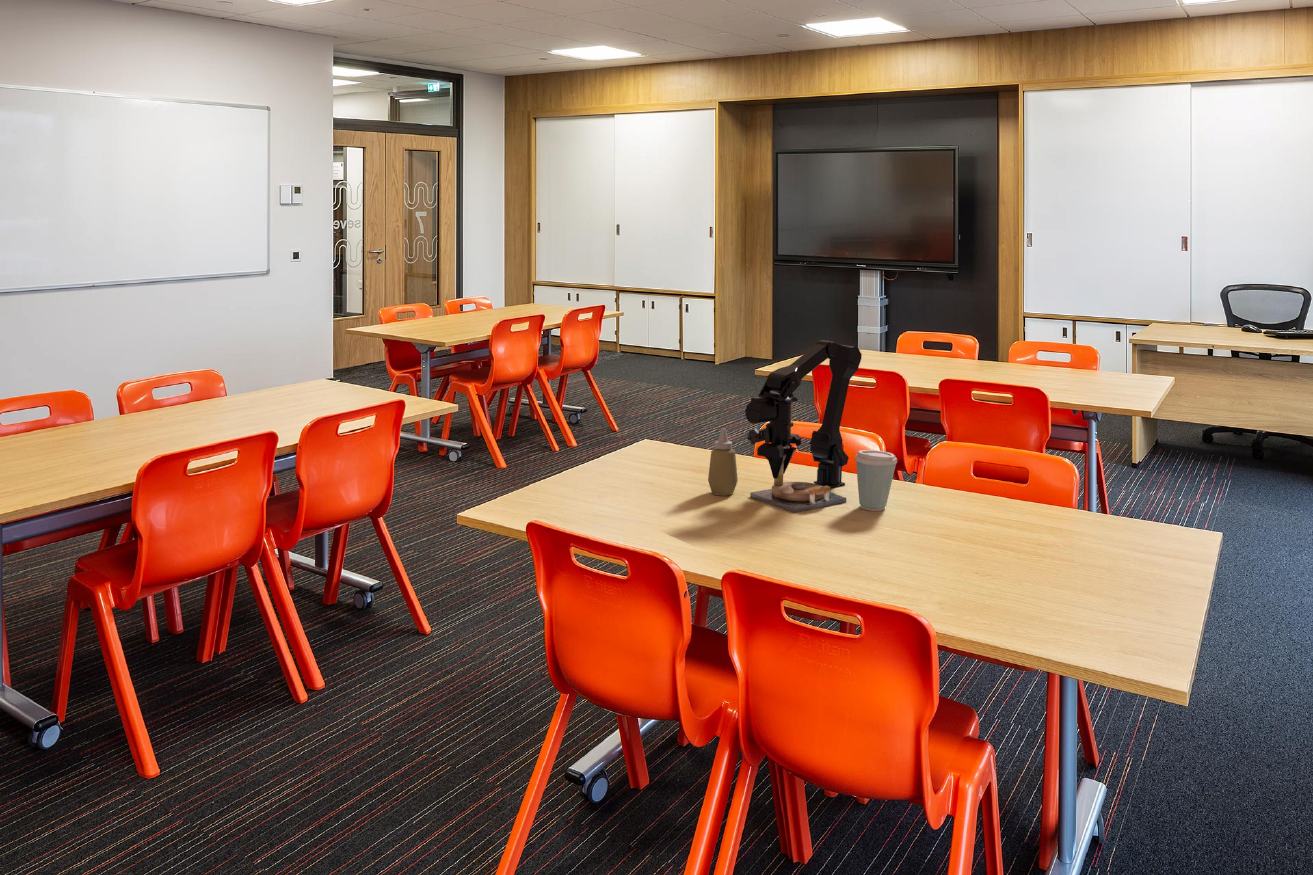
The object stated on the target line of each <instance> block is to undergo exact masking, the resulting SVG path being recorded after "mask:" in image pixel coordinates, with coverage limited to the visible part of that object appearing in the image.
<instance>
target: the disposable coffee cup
mask: <svg viewBox="0 0 1313 875" xmlns="http://www.w3.org/2000/svg"><path fill="white" fill-rule="evenodd" d="M854 459H855V465H856V466H855V467H856V468H855V469H856V477H857V490H858V504H859V506H860V508H861V509H862V510H865V511H872V512H880V511H884V510H885V508H886V507H887V503H888V499H889V496H890V491H891V487H892V482H893V478H894V473H895V469H896V465H897V463H898V458H897V457H896V454H895V455H894V453H892V452H888V451H883V450H876V449H875V450H874V449H860V450H858V451H857V454H855V457H854Z"/></svg>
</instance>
